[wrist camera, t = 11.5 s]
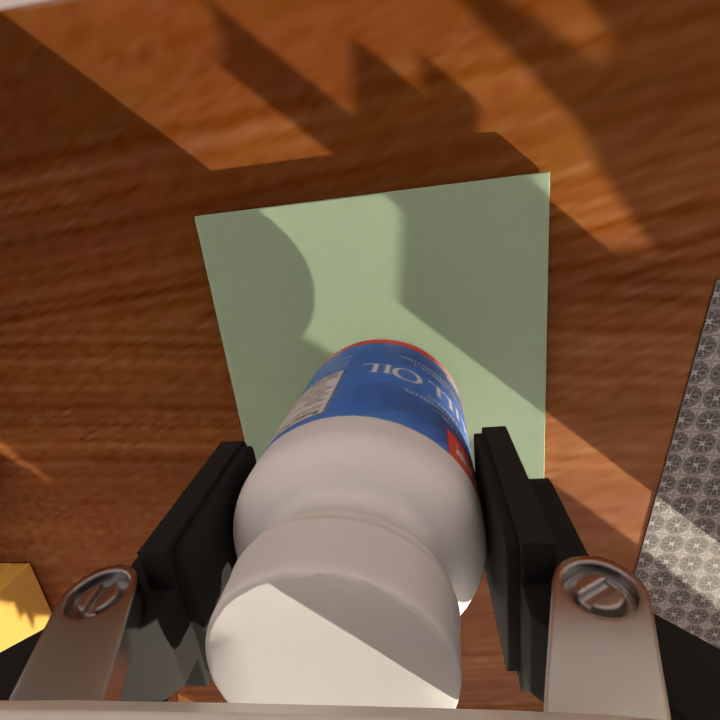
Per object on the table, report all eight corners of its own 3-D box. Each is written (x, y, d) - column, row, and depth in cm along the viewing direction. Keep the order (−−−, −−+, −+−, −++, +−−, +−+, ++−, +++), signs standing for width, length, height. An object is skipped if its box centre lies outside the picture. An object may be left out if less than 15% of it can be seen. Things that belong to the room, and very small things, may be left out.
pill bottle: (494, 406, 15) (605, 705, 6) (388, 497, 17) (354, 836, 8) (375, 299, 15) (304, 460, 6) (277, 406, 16) (100, 663, 7)
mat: (269, 531, 21) (266, 539, 20) (199, 215, 16) (193, 216, 16) (540, 524, 19) (543, 532, 19) (546, 172, 15) (550, 171, 14)
